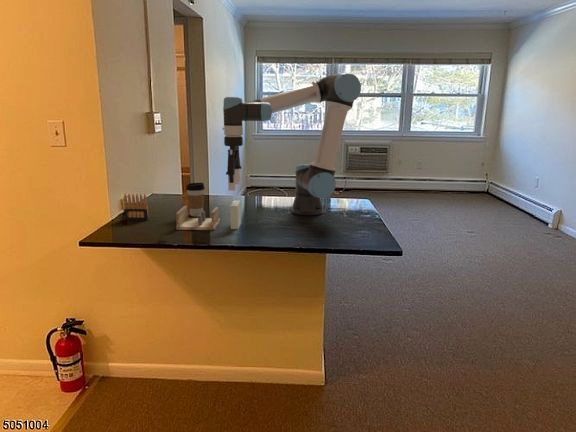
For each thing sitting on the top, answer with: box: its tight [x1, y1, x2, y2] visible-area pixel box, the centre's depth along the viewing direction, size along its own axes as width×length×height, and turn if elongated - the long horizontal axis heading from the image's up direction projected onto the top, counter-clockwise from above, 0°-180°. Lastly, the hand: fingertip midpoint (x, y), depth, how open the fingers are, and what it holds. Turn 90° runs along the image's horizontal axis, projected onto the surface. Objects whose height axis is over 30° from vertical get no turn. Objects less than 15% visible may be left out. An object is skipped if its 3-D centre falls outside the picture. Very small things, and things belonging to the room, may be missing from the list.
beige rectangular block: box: [229, 199, 242, 230], centre depth 189 cm, size 3×10×10 cm, turn 178°
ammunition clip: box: [123, 193, 150, 221], centre depth 198 cm, size 11×2×12 cm, turn 88°
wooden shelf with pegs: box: [175, 205, 221, 231], centre depth 190 cm, size 16×14×7 cm
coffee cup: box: [185, 182, 206, 217], centre depth 205 cm, size 8×8×15 cm
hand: (234, 187), depth 186 cm, fingers open, 13 cm apart
